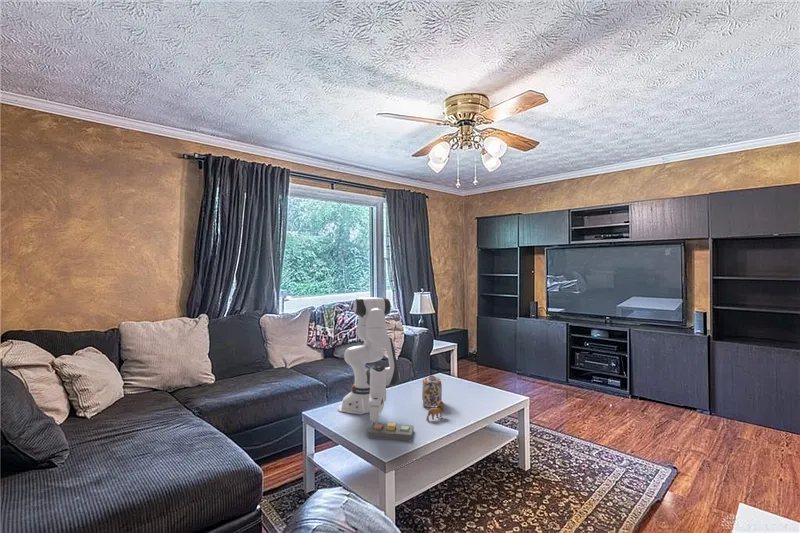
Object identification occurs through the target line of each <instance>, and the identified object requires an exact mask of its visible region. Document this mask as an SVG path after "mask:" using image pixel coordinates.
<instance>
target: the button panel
mask: <svg viewBox="0 0 800 533" xmlns="http://www.w3.org/2000/svg"><path fill="white" fill-rule="evenodd" d="M378 424H380V425H383V429H382V430H377V429H374V426H375V422H372V423H371V426H370V427H369V430H368V436H367V438H368V439H378V440H379V439H380V440H393V441H394V440H395V441H407V440H411V441H412V439H413V435H414V425H413V424H403V423H401V424H399V423H398V424H397V423H396V430H395V431H392V430H387V425H388V423H387V422H386V423H383V422H379V423H378ZM401 426H409V432H407V431H401Z"/></svg>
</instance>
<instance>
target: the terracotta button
mask: <svg viewBox="0 0 800 533" xmlns="http://www.w3.org/2000/svg"><path fill="white" fill-rule="evenodd" d="M374 429H377V430H382V429H383V425H380V424H375V426H374Z"/></svg>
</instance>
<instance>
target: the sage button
mask: <svg viewBox="0 0 800 533" xmlns="http://www.w3.org/2000/svg"><path fill="white" fill-rule="evenodd" d="M401 431H407V432H409V426H401Z"/></svg>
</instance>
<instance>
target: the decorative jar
mask: <svg viewBox="0 0 800 533" xmlns="http://www.w3.org/2000/svg"><path fill="white" fill-rule="evenodd" d="M442 386H443V385H442V379H441V378H439V377H437V376H436V375H428V377H424V378H422V391H421V393H422V394H421V397H422V398H421V400H423V403H422V407H423V406H437V404H438V402H439V401H443V400H442V399H443V398H442V396H443V394H442V391H443V389H442V388H443V387H442Z"/></svg>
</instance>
